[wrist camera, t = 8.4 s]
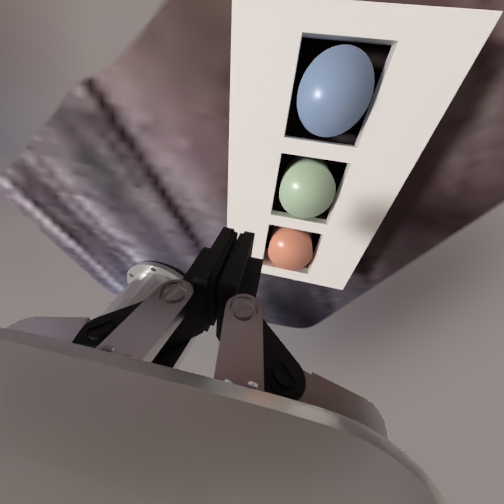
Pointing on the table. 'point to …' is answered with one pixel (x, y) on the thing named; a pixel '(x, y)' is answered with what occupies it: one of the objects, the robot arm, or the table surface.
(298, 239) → the terracotta button
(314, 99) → the slate button
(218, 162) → the table surface
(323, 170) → the sage button
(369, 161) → the button box
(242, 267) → the robot arm
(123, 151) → the table surface
